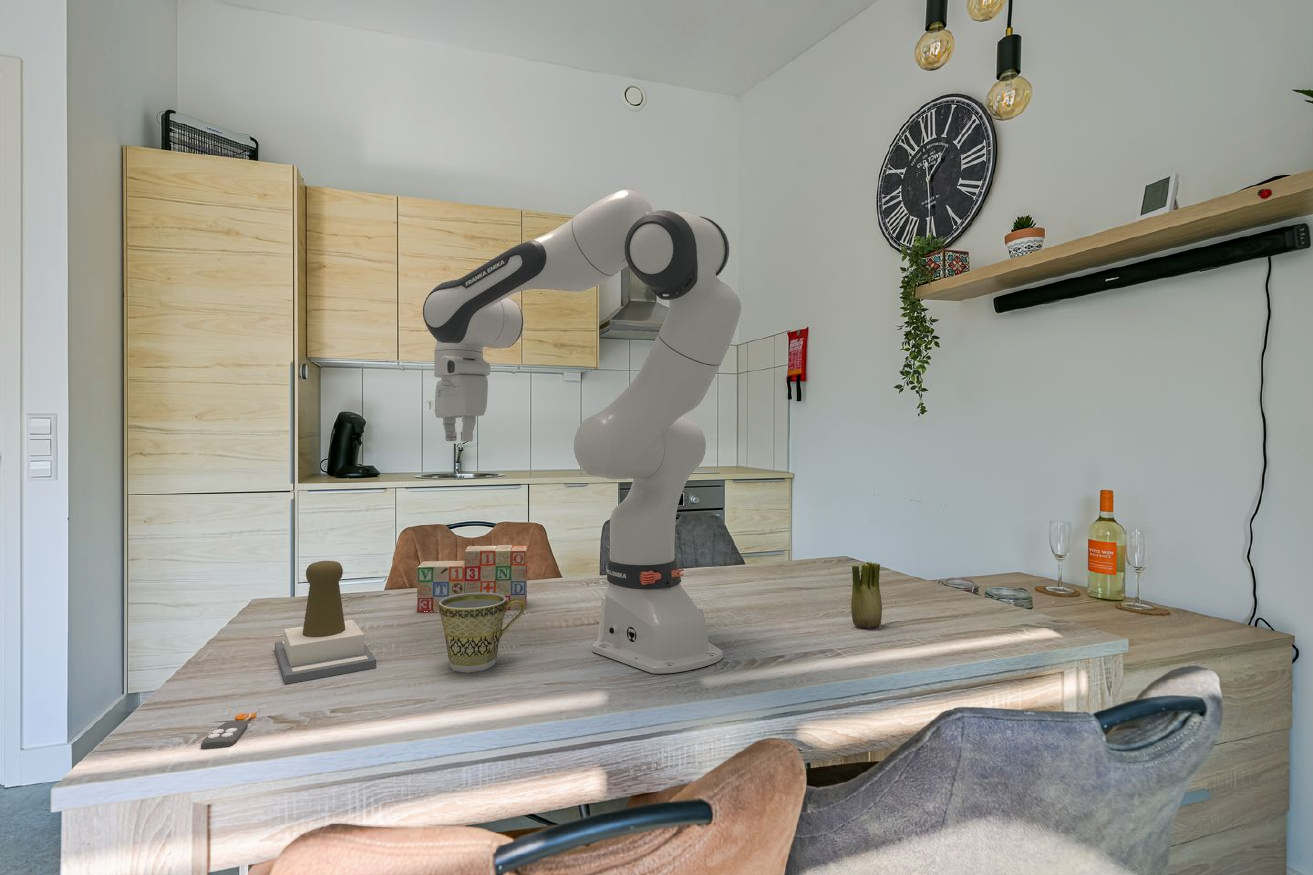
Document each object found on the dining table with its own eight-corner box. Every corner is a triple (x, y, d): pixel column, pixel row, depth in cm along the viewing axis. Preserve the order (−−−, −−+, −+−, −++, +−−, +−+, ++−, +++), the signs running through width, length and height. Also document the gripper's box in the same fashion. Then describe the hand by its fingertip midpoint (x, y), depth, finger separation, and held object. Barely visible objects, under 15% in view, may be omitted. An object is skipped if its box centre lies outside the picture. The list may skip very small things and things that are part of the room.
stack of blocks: (416, 613, 130) (416, 551, 130) (422, 605, 136) (422, 546, 136) (526, 610, 133) (526, 549, 133) (527, 602, 139) (527, 544, 139)
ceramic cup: (444, 681, 93) (444, 611, 93) (433, 660, 102) (433, 596, 102) (533, 667, 99) (533, 601, 99) (515, 648, 108) (515, 587, 108)
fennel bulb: (851, 629, 120) (852, 564, 120) (848, 622, 124) (848, 559, 124) (885, 631, 119) (885, 565, 119) (880, 623, 123) (880, 560, 123)
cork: (313, 626, 106) (313, 558, 106) (351, 625, 106) (351, 557, 106) (295, 637, 100) (295, 565, 100) (335, 636, 100) (336, 565, 100)
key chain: (235, 750, 74) (235, 737, 74) (198, 754, 73) (198, 740, 73) (275, 704, 86) (275, 693, 86) (243, 707, 85) (243, 695, 85)
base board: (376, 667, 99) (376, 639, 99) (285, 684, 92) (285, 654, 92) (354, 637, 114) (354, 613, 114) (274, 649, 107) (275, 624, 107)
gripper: (426, 371, 131) (426, 441, 131) (459, 362, 114) (458, 441, 114) (458, 373, 134) (458, 441, 134) (494, 364, 117) (493, 441, 117)
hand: (458, 441), depth 124 cm, fingers open, 8 cm apart
